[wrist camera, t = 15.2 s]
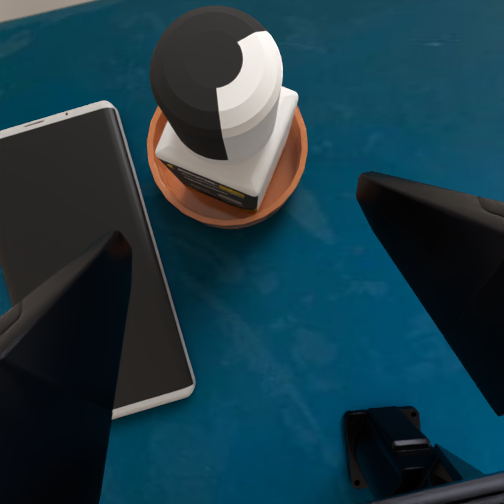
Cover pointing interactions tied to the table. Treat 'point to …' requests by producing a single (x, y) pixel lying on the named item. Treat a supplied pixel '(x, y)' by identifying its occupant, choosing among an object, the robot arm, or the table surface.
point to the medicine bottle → (221, 104)
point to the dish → (218, 211)
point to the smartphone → (90, 237)
